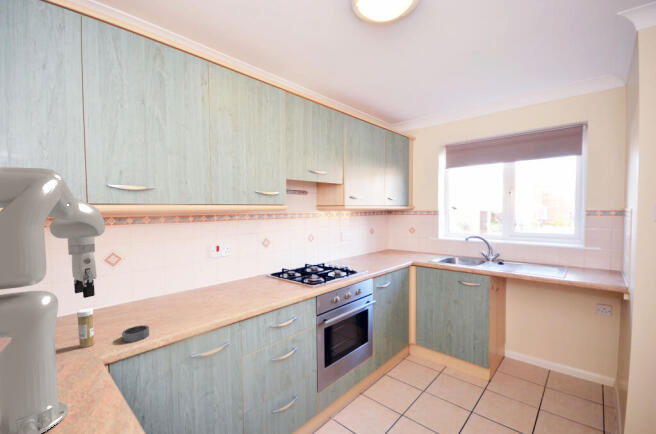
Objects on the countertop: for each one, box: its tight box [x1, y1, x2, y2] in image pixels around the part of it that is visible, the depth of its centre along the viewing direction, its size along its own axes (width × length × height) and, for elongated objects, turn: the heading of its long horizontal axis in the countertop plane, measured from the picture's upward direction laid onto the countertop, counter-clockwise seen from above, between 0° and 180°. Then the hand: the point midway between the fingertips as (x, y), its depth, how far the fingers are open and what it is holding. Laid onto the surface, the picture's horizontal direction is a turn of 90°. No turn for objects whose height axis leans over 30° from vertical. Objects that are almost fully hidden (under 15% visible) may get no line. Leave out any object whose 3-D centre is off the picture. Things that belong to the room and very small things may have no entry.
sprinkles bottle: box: [76, 307, 95, 349], centre depth 106 cm, size 5×5×14 cm
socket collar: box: [121, 324, 150, 344], centre depth 112 cm, size 9×9×3 cm
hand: (84, 294), depth 106 cm, fingers open, 9 cm apart
